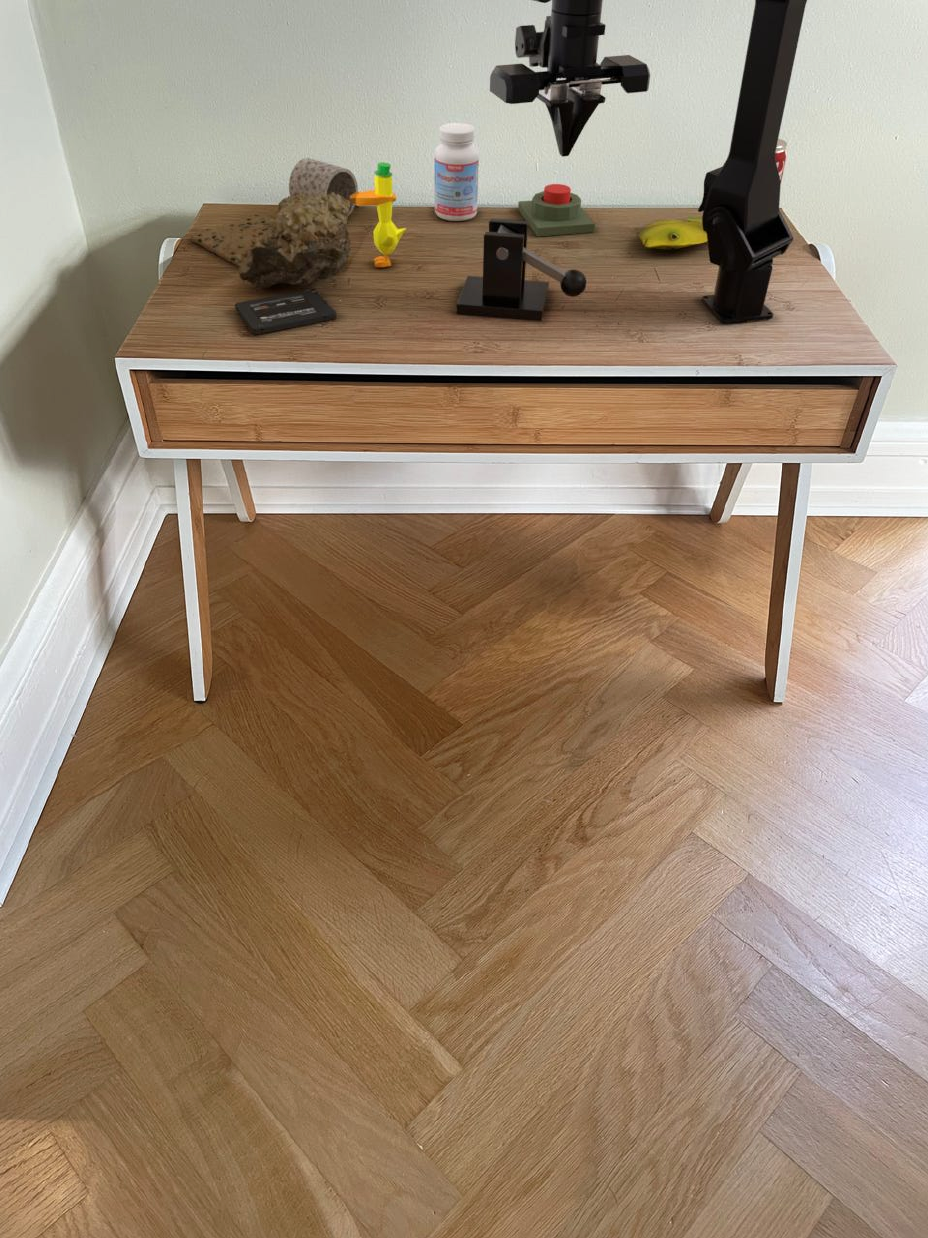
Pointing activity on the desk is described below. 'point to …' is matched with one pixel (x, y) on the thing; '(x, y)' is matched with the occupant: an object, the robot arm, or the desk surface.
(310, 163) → the speckled mug
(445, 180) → the pill bottle
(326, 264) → the mineral specimen
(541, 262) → the lever
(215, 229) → the cookie
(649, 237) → the fish
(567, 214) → the button block
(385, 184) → the toy figure
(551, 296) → the desk surface
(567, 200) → the button
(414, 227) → the desk surface
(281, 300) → the solid state drive
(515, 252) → the bracket
